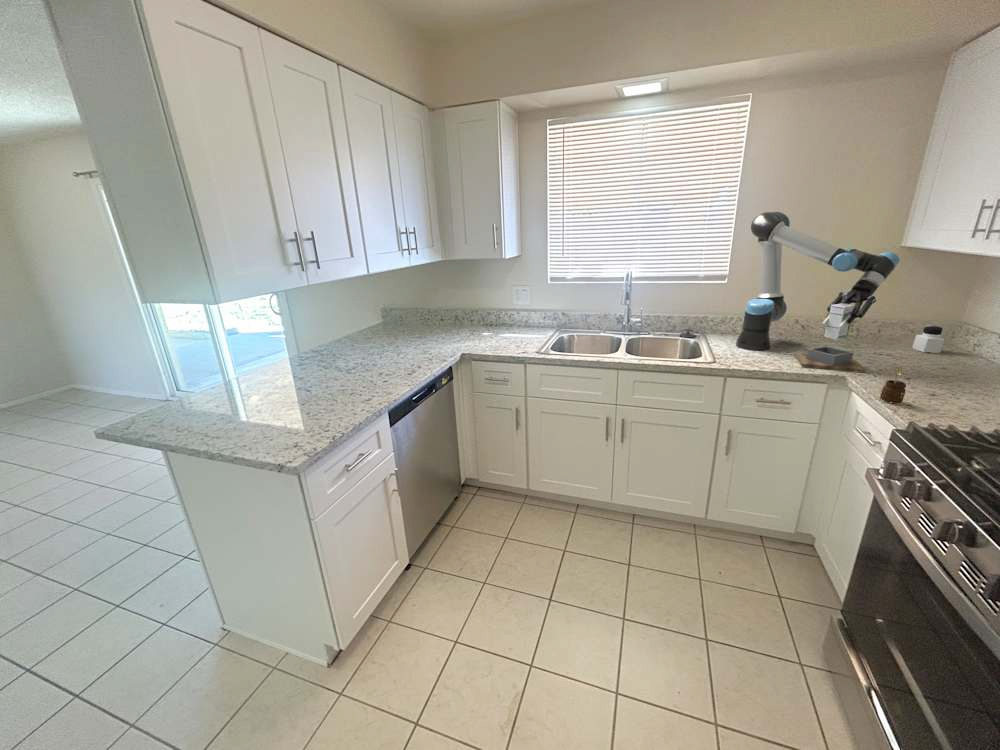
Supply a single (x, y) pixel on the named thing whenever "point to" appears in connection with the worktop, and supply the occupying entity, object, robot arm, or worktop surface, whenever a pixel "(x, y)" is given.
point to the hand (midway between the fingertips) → (832, 326)
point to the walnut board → (810, 363)
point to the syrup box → (838, 321)
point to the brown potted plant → (894, 389)
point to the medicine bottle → (929, 340)
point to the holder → (829, 355)
